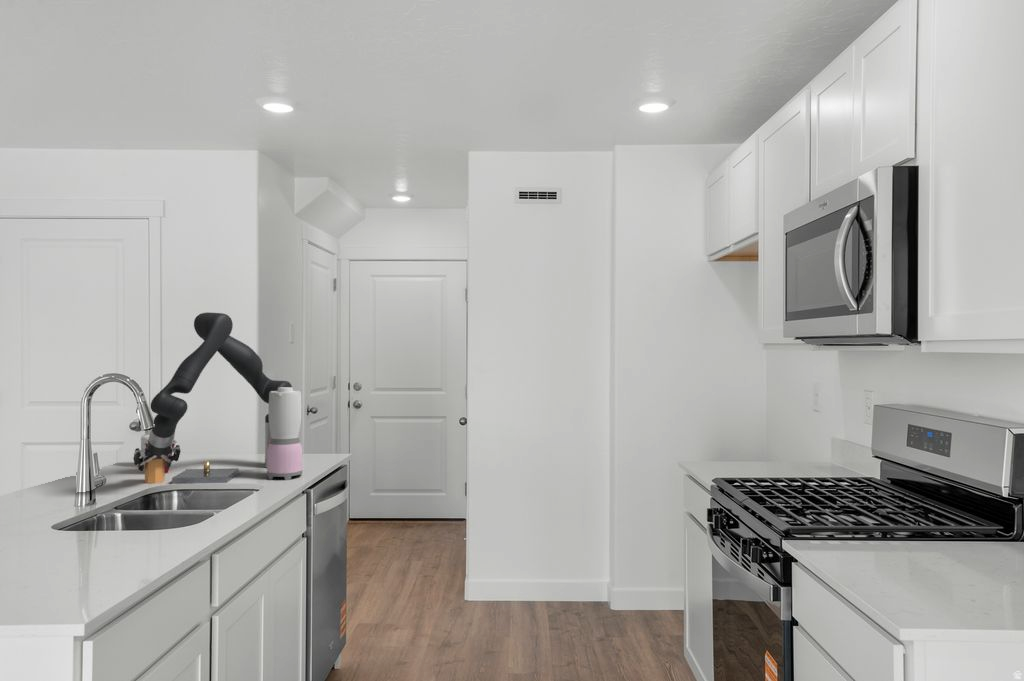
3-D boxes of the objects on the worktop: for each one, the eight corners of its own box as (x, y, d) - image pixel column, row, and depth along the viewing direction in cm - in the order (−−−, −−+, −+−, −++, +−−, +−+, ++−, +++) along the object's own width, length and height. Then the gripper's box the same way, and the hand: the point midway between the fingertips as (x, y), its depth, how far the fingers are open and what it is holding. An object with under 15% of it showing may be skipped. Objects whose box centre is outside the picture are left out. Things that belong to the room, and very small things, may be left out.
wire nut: (149, 480, 249) (149, 451, 249) (166, 479, 249) (166, 451, 249) (142, 483, 243) (142, 454, 243) (160, 483, 244) (160, 454, 244)
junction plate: (187, 474, 259) (187, 458, 259) (238, 473, 261) (239, 457, 261) (172, 483, 243) (172, 466, 243) (227, 482, 245) (227, 465, 245)
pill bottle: (141, 464, 278) (141, 426, 278) (164, 463, 282) (164, 425, 281) (140, 468, 271) (140, 428, 271) (163, 466, 274) (163, 427, 274)
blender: (294, 480, 249) (294, 389, 249) (260, 479, 250) (261, 388, 250) (311, 472, 265) (311, 386, 265) (279, 471, 266) (280, 385, 266)
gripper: (182, 428, 244) (174, 457, 254) (135, 431, 236) (129, 461, 245) (186, 445, 240) (177, 474, 249) (138, 449, 231) (132, 479, 241)
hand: (153, 467), depth 247 cm, fingers open, 7 cm apart
